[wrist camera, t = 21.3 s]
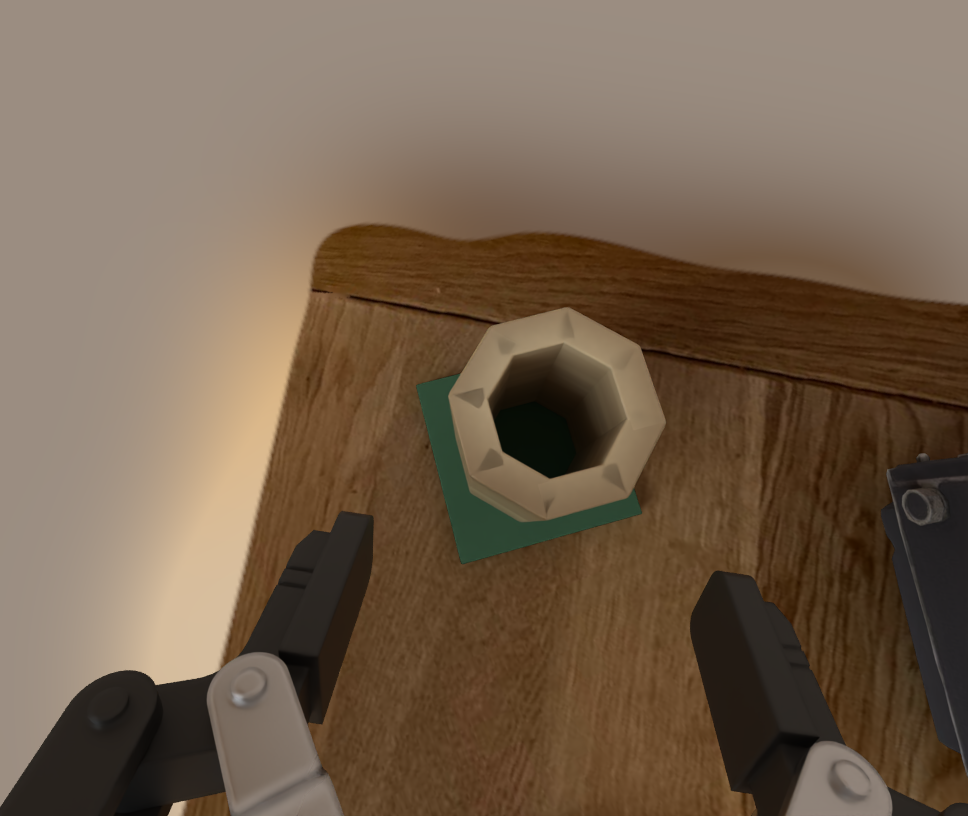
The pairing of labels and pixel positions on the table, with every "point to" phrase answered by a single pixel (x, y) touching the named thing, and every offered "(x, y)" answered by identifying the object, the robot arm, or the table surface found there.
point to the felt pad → (526, 439)
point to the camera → (935, 582)
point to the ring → (567, 392)
